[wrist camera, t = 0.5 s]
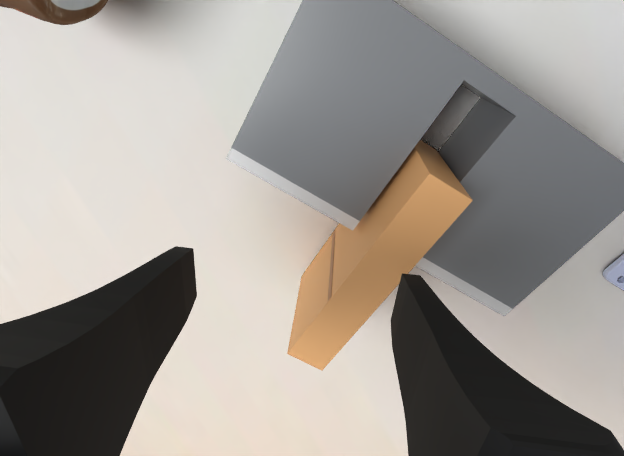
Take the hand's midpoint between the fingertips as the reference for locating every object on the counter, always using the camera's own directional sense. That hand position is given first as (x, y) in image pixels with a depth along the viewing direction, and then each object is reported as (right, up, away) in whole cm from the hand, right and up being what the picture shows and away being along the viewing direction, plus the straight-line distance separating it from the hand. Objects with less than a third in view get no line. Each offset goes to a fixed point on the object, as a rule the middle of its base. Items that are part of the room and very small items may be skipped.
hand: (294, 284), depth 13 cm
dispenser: (+6, +7, +7) cm, 12 cm away
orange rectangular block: (+4, +2, +9) cm, 10 cm away
